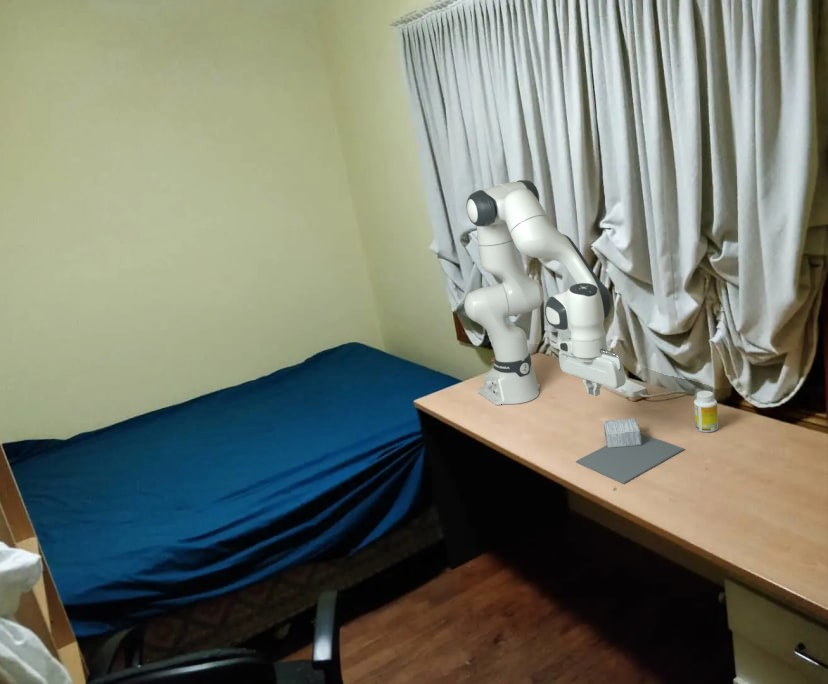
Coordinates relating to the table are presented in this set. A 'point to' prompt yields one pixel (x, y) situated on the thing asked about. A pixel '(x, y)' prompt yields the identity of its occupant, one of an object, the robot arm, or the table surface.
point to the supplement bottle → (706, 412)
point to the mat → (630, 458)
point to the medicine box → (622, 433)
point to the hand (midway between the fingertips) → (593, 394)
